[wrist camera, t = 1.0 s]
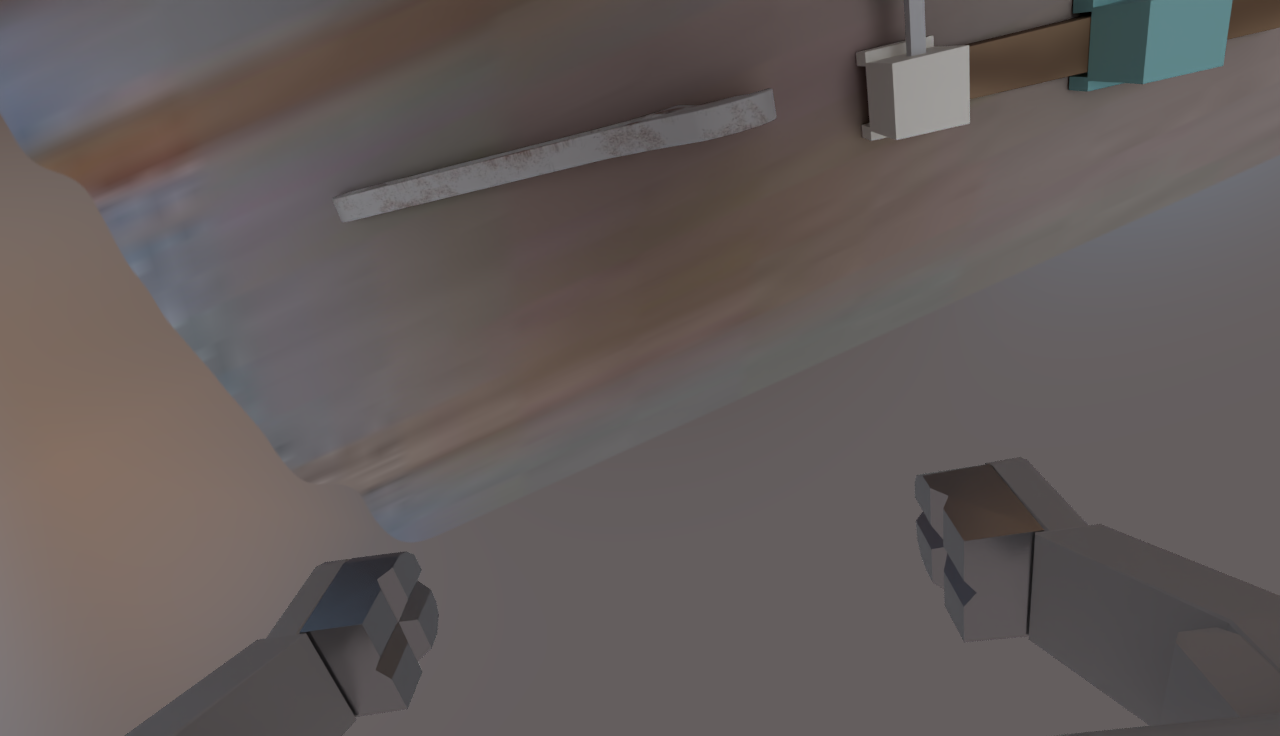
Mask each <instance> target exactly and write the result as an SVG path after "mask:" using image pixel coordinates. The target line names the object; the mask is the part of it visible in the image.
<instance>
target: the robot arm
mask: <svg viewBox="0 0 1280 736" xmlns="http://www.w3.org/2000/svg"><path fill="white" fill-rule="evenodd" d="M915 498H916V500H917V501H918V503H919V505H920V507H921V509H922V510H923V512H922V514H921V515H920V516H919V517H918V519H917V520H916V527H917V539H918V544H919V549H920V553H921V557H922V560H923V562H924V565H925V568H926V570H927V572H928V574H929V576H930V578H931V580H932V582H933V583H934V584H936V585H938V586H940V587H941V588H943V589H944V598H945V607H946V609H947V611H948V613H949V614H950V617H951V618H952V620H953V622H954V624H955V626H956V628H957V630H958V632H959V633H960V635H961V637H962V639H963V641H964V642H973V641H983V640H994V639H1005V638H1016V637H1026V636H1029V640H1030V641H1032V642H1033V643H1035V644H1036V645H1037V646H1039V647H1040V648H1042V649H1043V650H1045V651H1046V652H1047V653H1049V654H1050V655H1051V656H1053V657H1054V658H1056V659H1057V660H1058V661H1060V662H1061V663H1063V664H1064V665H1065V666H1067V667H1068V668H1070V669H1071V670H1072V671H1074V672H1075V673H1077V674H1078V675H1079V676H1081V677H1082V678H1084V679H1085V680H1086V681H1088V682H1089V683H1091V684H1092V685H1093V686H1095V687H1096V688H1098V689H1099V690H1101V691H1102V692H1103V693H1105V694H1106V695H1107V696H1109V697H1110V698H1112V699H1113V700H1114V701H1116V702H1117V703H1119V704H1120V705H1122V706H1123V707H1124V708H1126V709H1127V710H1128V711H1130V712H1131V713H1133V714H1134V715H1136V716H1137V717H1138V718H1140V719H1141V720H1143V721H1144V722H1145V723H1147V724H1148V725H1150V726H1143V727H1133V728H1124V729H1114V730H1104V731H1095V732H1085V733H1075V734H1065V735H1055V736H1280V596H1279V595H1277V594H1274V593H1271V592H1269V591H1267V590H1264V589H1262V588H1259V587H1257V586H1254V585H1252V584H1249V583H1247V582H1244V581H1242V580H1239V579H1237V578H1234V577H1232V576H1229V575H1227V574H1224V573H1222V572H1219V571H1217V570H1214V569H1212V568H1209V567H1207V566H1204V565H1202V564H1199V563H1197V562H1194V561H1191V560H1189V559H1186V558H1184V557H1182V556H1179V555H1177V554H1174V553H1172V552H1169V551H1167V550H1164V549H1162V548H1159V547H1157V546H1154V545H1151V544H1149V543H1146V542H1144V541H1141V540H1139V539H1137V538H1134V537H1132V536H1129V535H1126V534H1124V533H1122V532H1119V531H1117V530H1114V529H1112V528H1109V527H1107V526H1104V525H1102V524H1096V525H1088V524H1087V523H1086V522H1085V521H1084V520H1083V519H1082V518H1081V516H1079V514H1078V513H1077V512H1076V511H1075V510H1074V509H1073V508H1072V507H1071V506H1070V505H1069V504H1068V503H1067V502H1066V501H1065V500H1064V498H1063V497H1062V496H1061V495H1060V494H1059V493H1058V492H1057V491H1056V490H1055V489H1054V488H1053V487H1052V486H1051V485H1050V484H1049V482H1048V481H1046V480H1045V478H1044V477H1043V476H1042V475H1041V474H1040V473H1039V472H1038V471H1037V470H1036V469H1035V468H1034V467H1033V465H1032V464H1030V462H1029V461H1028V460H1026V459H1024V458H1021V457H1017V458H1012V459H1006V460H1000V461H995V462H990V463H985V465H978V466H972V467H965V468H959V469H952V470H946V471H939V472H933V473H926V474H920V475H917V476H916V480H915ZM420 573H421V567H420V565H419V564H418V562H417V560H416V558H415V556H414V554H411V553H408V552H398V553H390V554H382V555H375V556H366V557H359V558H352V559H345V560H338V561H331V562H325V563H323V564H321V565H319V566H317V567H316V568H315V569H314V570H313V572H312V573H311V575H310V576H309V578H308V579H307V581H306V582H305V583H304V585H303V586H302V588H301V589H300V590H299V592H298V593H297V595H296V596H295V598H294V599H293V601H292V602H291V603H290V605H289V606H288V608H287V609H286V611H285V612H284V613H283V615H282V616H281V618H280V619H279V621H278V622H277V623H276V625H275V626H274V628H273V629H272V631H271V632H270V634H269V635H268V637H267V638H266V639H260V640H256V641H255V642H253V643H252V644H251V645H249V646H248V647H246V648H245V649H244V650H242V651H241V652H240V653H238V654H237V655H235V656H234V657H233V658H231V659H230V660H229V661H227V662H226V663H224V664H223V665H222V666H220V667H219V668H217V669H216V670H215V671H213V672H212V673H211V674H209V675H208V676H206V677H205V678H204V679H202V680H201V681H199V682H198V683H197V684H195V685H194V686H192V687H191V688H190V689H188V690H187V691H186V692H184V693H183V694H181V695H180V696H179V697H177V698H176V699H175V700H173V701H172V702H170V703H169V704H168V705H166V706H165V707H163V708H162V709H161V710H159V711H158V712H157V713H155V714H154V715H152V716H151V717H150V718H148V719H147V720H145V721H144V722H143V723H141V724H140V725H139V726H137V727H136V728H134V729H133V730H132V731H131V732H129V733H127V734H126V735H125V736H342V735H343V734H344V733H345V732H346V731H347V730H348V729H349V728H350V726H351V725H352V724H353V723H354V722H355V721H356V717H358V716H365V715H372V714H378V713H385V712H392V711H397V710H404V709H408V707H409V704H410V702H411V699H412V697H413V694H414V692H415V689H416V686H417V684H418V681H419V679H420V677H421V674H422V670H421V668H420V665H419V663H418V661H419V660H420V659H421V658H422V657H423V656H424V655H425V654H426V653H427V652H428V651H429V650H430V649H432V646H433V643H434V640H435V638H436V635H437V629H438V617H439V614H438V609H437V605H436V600H435V598H434V596H433V593H432V591H431V590H430V589H429V588H427V587H426V586H424V585H423V584H421V583H420V582H419V581H418V578H419V575H420Z"/></svg>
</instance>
